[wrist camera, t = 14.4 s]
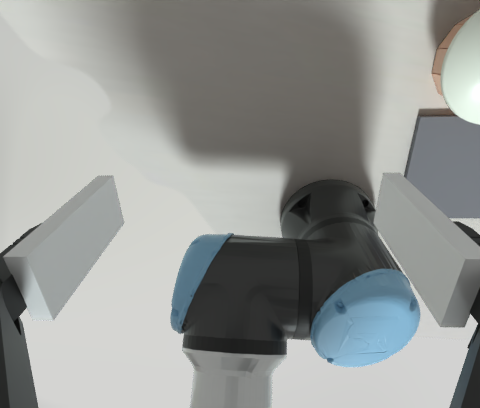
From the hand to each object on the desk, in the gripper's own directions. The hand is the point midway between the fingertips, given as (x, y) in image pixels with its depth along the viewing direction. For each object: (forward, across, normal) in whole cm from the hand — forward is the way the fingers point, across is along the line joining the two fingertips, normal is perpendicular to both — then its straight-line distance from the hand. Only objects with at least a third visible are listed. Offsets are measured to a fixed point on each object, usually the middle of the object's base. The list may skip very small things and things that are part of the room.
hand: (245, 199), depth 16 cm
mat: (+32, -31, +11) cm, 46 cm away
